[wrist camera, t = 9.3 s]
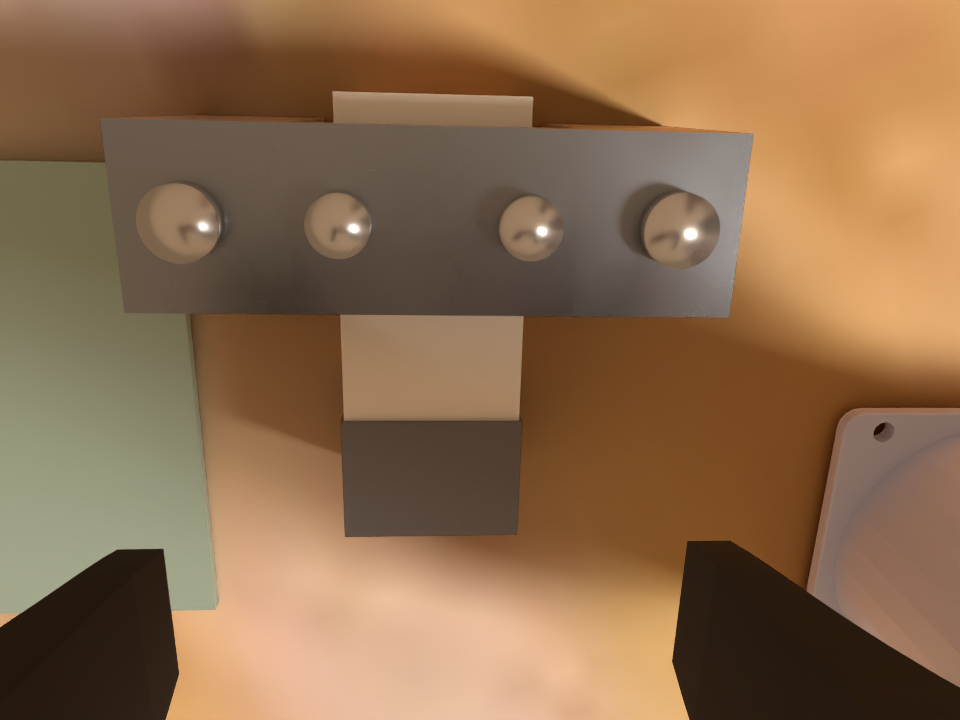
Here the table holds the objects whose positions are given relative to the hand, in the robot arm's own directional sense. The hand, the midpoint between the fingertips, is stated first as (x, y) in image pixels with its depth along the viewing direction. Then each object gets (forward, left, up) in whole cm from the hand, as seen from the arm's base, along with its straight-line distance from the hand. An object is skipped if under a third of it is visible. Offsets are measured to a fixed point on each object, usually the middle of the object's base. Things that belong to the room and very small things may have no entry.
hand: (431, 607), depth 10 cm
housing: (0, -5, -8) cm, 9 cm away
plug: (0, -2, -8) cm, 9 cm away
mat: (+9, 0, -8) cm, 12 cm away
